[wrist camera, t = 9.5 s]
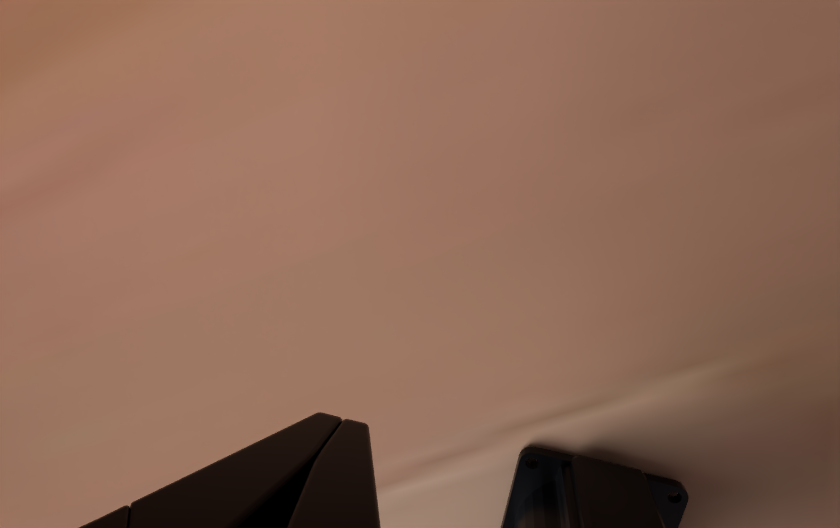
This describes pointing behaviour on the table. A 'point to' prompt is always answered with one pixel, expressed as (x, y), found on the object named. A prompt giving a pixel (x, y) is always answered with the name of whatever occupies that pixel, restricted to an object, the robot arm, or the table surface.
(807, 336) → the table surface
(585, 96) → the table surface
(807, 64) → the table surface
